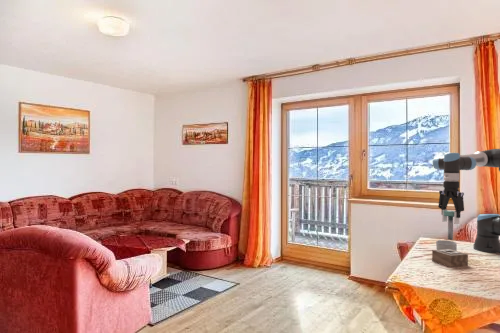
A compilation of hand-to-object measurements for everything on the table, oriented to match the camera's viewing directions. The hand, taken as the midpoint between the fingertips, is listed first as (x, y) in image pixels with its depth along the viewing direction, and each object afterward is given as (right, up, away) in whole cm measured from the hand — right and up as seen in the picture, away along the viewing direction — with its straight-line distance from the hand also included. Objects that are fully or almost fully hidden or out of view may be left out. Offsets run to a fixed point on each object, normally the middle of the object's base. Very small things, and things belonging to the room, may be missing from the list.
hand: (450, 222), depth 187 cm
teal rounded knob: (0, -9, 0) cm, 9 cm away
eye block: (0, -22, 0) cm, 22 cm away
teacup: (+7, -23, +18) cm, 30 cm away
